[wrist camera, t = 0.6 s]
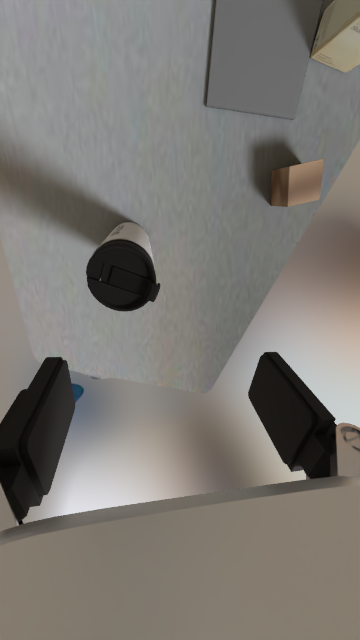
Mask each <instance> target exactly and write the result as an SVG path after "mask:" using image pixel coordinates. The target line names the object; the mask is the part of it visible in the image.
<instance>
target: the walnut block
mask: <svg viewBox="0 0 360 640" xmlns="http://www.w3.org/2000/svg"><path fill="white" fill-rule="evenodd" d="M323 163H324V159H321V160H316V161H312V162H307V163H303V164H298V165H294V166H289V167H285V168H280V169H276V170H272V171H271V206H284V207H288V206H293V205H297V204H301V203H306V202H310V201H314V200H318V199H319V198H320V189H321V181H322V172H323Z"/></svg>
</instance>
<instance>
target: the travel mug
mask: <svg viewBox="0 0 360 640" xmlns="http://www.w3.org/2000/svg"><path fill="white" fill-rule="evenodd" d="M86 274H87V282H88V287H89V289H90V291H91V293H92V294H93V296H94V297H95V298H96V299H97V300H98V301H99V302H100V303H101V304H103V305H104V306H106V307H108V308H110V309H113V310H117V311H132V310H136V309H138V308H140V307H142V306H144V305H145V304H146V303H147V302H148V301H152V302H154V301H155V299H156V297H157V295H158V292H159V289H160V284H159V283H158V285H157V284H156V275H155V267H154V261H153V256H152V251H151V246H150V241H149V237H148V234H147V233H146V231H145V230H144V229H143V228H142V227H141V226H140V225H138V224H136V223H133V222H124V223H121V224H119V225H118V226H117V227H116V228H115V229H114V230H113V231H112V232H111V233H110V234H109V235H108V236H107V238H106V239H105V240H104V241H103V242H102V243H101V244H100V246H99V247H98V248H97V249H96V251H95V252H94V254H93V256H92V257H91V258H90V260H89V262H88V265H87V270H86Z"/></svg>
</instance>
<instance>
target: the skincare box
mask: <svg viewBox="0 0 360 640" xmlns="http://www.w3.org/2000/svg"><path fill="white" fill-rule="evenodd" d="M310 57H311V58H312V59H314V60H317V61H319V62H321V63H323V64H325V65H328V66H330V67H332V68H335V69H337V70H340V71H342V72H345V73H346V72H348V71H349V70H351V69H353V68H354V67H356V66H357V65H359V64H360V0H334V1H333V2H332V3H331V4H330V5H329V6H328V7H327V8H326V9H325V10H324V12H323V16H322V19H321V22H320V25H319V28H318V32H317V35H316V38H315V41H314V45H313V48H312V52H311V55H310Z"/></svg>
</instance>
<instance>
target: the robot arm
mask: <svg viewBox="0 0 360 640" xmlns="http://www.w3.org/2000/svg"><path fill="white" fill-rule="evenodd" d="M248 396H249V399H250V401H251V403H252V405H253V406H254V409H255V410H256V412H257V414H258V416H259V418H260V420H261V422H262V423H263V425H264V427H265V429H266V431H267V433H268V435H269V437H270V438H271V440H272V442H273V444H274V446H275V448H276V449H277V451H278V453H279V455H280V457H281V459H282V460H283V462H284V463H285V464H287V465H288V467H289V469H290V470H291V472H293V471H300V470H304V471H305V473H306V480H300V481H292V482H285V483H278V484H271V485H264V486H256V487H249V488H242V489H235V490H228V491H221V492H214V493H207V494H200V495H193V496H186V497H179V498H172V499H165V500H159V501H152V502H146V503H138V504H132V505H125V506H118V507H112V508H105V509H99V510H93V511H87V512H81V513H75V514H69V515H63V516H57V517H52V518H47V519H43V520H38V521H33V522H29V523H24V520H23V519H24V518H25V517H26V516H27V513H28V510H29V507H33V506H40V504H41V501H42V498H43V495H47V494H48V492H49V491H50V488H51V485H52V481H53V478H54V475H55V472H56V469H57V465H58V462H59V459H60V455H61V452H62V449H63V446H64V443H65V439H66V436H67V433H68V429H69V426H70V423H71V420H72V417H73V413H74V409H75V399H74V394H73V389H72V384H71V379H70V374H69V369H68V364H67V361H66V360H63V359H62V357H47V358H46V359H45V360H44V362H43V363H42V365H41V367H40V369H39V370H38V372H37V374H36V375H35V377H34V379H33V381H32V382H31V384H30V386H29V387H28V389H24V390H22V391H21V392H20V393H19V394H18V396H17V398H16V400H15V401H14V402H13V404H12V405H11V407H10V409H9V410H8V412H7V414H6V415H5V417H4V419H3V420H2V422H1V423H0V640H360V428H359V427H356V426H355V425H352V424H348V423H340V424H338V425H336V424H335V423H334V421H335V418H334V417H333V415H332V414H331V413H330V412H329V411H328V410H327V409H326V407H325V406H324V405H323V404H322V403H321V402H320V401H319V399H318V398H317V397H316V396H315V395H314V394H313V393H312V391H311V390H310V389H309V388H308V387H307V386H306V385H305V384H304V382H303V381H302V380H301V379H300V378H299V377H298V375H297V374H296V373H295V372H294V371H293V370H292V369H291V368H290V366H289V365H288V364H287V363H286V362H285V361H284V360H283V358H282V357H281V356H280V355H279V354H278V353H277V352H265V353H264V354H263V355H262V356H261V357H260V359H259V362H258V366H257V368H256V371H255V374H254V377H253V380H252V383H251V386H250V389H249V392H248Z"/></svg>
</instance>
